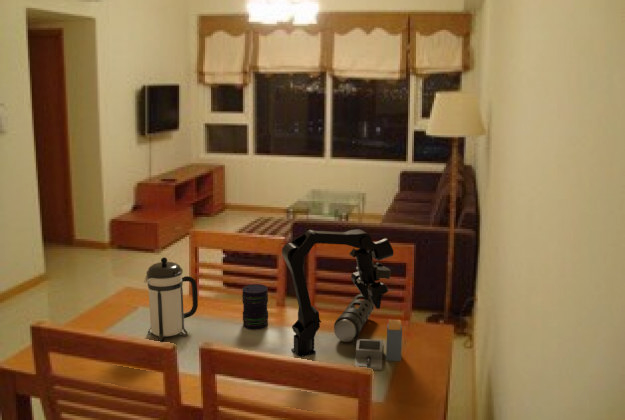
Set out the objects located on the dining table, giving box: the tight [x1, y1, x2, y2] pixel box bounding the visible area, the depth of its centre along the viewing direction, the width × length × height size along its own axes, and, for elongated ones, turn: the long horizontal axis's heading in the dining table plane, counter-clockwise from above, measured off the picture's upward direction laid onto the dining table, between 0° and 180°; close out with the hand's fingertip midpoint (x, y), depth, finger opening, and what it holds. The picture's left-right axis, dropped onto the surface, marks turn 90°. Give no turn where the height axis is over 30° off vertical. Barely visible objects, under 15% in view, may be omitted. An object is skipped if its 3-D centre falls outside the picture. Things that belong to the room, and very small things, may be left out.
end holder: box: [354, 338, 384, 371], centre depth 207 cm, size 9×20×4 cm, turn 173°
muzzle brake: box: [333, 293, 375, 343], centre depth 227 cm, size 10×28×10 cm, turn 162°
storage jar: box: [241, 283, 269, 331], centre depth 232 cm, size 10×10×15 cm
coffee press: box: [144, 257, 199, 342], centre depth 222 cm, size 17×16×30 cm
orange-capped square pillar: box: [385, 319, 403, 362], centre depth 205 cm, size 5×5×13 cm
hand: (372, 304), depth 216 cm, fingers open, 9 cm apart
